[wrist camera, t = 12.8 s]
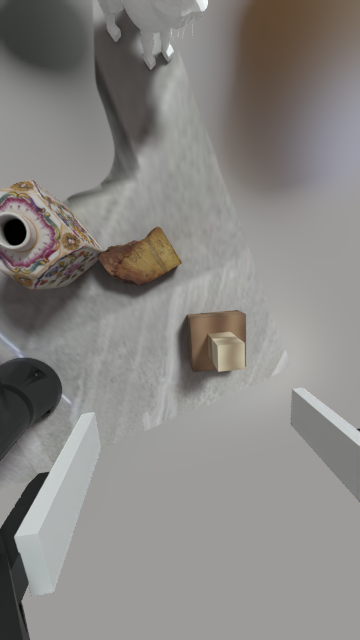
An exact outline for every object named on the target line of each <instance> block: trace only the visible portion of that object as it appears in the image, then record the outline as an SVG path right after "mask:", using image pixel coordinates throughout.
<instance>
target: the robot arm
mask: <svg viewBox="0 0 360 640" xmlns="http://www.w3.org/2000/svg"><path fill="white" fill-rule="evenodd" d="M61 395H62V386H61V382H60V379H59V377H58V375H57V374H56V373H55V371H54V370H53V369H52V368H51V367H49V366H48V365H47V364H45V363H43V362H41V361H39V360H36V359H32V358H16V359H12V360H10V361H7V362H6V363H4V364H2V365H0V461H1V459H2V458H3V457H4V456H5V455H6V453H7V452H8V451H9V450H10V449H11V447H12V446H13V445H14V444H15V443H16V441H17V440H18V439H19V438H20V436H21V435H22V434H23V433H24V432H25V430H26V429H27V428H28V427H30V426H32V425H33V424H35V423H37V422H39V421H40V420H42V419H44V418H45V417H47V416H48V415H49V414H50V413H51V412H52V411H53V410H54V408H55V407H56V406H57V405H58V403H59V401H60V399H61ZM291 404H292V405H291V425H292V426H293V427H294V429H295V430H296V431H297V432H298V433H299V434H300V436H301V437H302V438H303V439H304V440H305V441H306V442H307V443H308V445H309V446H310V447H311V448H312V449H313V450H314V451H315V452H316V453H317V455H318V456H319V457H320V458H321V459H322V460H323V461H324V463H325V464H326V465H327V466H328V467H329V468H330V469H331V470H332V471H333V473H334V474H335V475H336V476H337V477H338V478H339V479H340V481H341V482H342V483H343V484H344V485H345V486H346V487H347V489H348V490H349V491H350V492H351V493H352V494H353V495H354V496H355V498H356V499H357V500H358V501H359V502H360V429H355V428H354V427H353V426H351V425H350V424H349V423H348V422H346V421H345V420H344V419H342V418H341V417H340V416H339V415H337V414H336V413H335V412H333V411H332V410H331V409H329V408H328V407H327V406H326V405H324V404H323V403H322V402H320V401H319V400H318V399H317V398H315V397H314V396H313V395H312V394H310V393H309V392H308V391H306V390H305V389H304V388H295V389H292V403H291ZM100 451H101V447H100V441H99V435H98V429H97V423H96V417H95V412H92V413H84V414H82V415H81V417H80V419H79V420H78V422H77V424H76V426H75V428H74V429H73V431H72V433H71V435H70V437H69V439H68V440H67V442H66V444H65V446H64V448H63V449H62V451H61V453H60V455H59V457H58V458H57V460H56V462H55V464H54V466H53V468H52V469H51V471H50V472H45V473H39V474H38V475H37V476H36V477H35V478H34V479H33V480H32V481H31V482H30V483H29V484H28V485H27V487H26V488H25V490H24V492H23V493H22V495H21V498H19V500H18V501H17V503H16V504H15V507H14V508H13V509H12V511H11V512H10V514H9V516H8V517H7V519H6V520H5V522H4V524H3V525H2V527H1V529H0V640H30V638H29V633H28V629H27V624H26V619H25V614H24V610H23V605H22V602H21V600H22V598H23V596H24V593H25V591H26V588H27V586H29V589H30V593H31V596H35V595H40V594H46V593H51V592H54V590H55V586H56V584H57V580H58V578H59V575H60V571H61V568H62V565H63V562H64V559H65V556H66V553H67V550H68V547H69V544H70V541H71V538H72V535H73V532H74V529H75V526H76V523H77V520H78V517H79V514H80V511H81V508H82V505H83V502H84V499H85V496H86V493H87V490H88V487H89V484H90V481H91V478H92V475H93V472H94V469H95V466H96V463H97V460H98V457H99V454H100Z"/></svg>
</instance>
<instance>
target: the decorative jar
mask: <svg viewBox="0 0 360 640" xmlns="http://www.w3.org/2000/svg"><path fill="white" fill-rule="evenodd" d="M102 251H104V250H103V249H102V247H101V246H100V245H99V244H98V243H97V242H96V240H95V239H94V238H93V237H92V235H91V234H90V233H89V232H88V231H87V229H86V228H85V227H84V226H83V225H82V223H81V222H80V221H79V220H78V219H77V217H76V216H75V215H74V214H73V213H72V211H71V210H70V209H69V208H68V207H67V206H66V205H65V204H64V203H62V202H61V201H60V200H58V199H57V198H56V197H54V196H53V195H52V194H50V193H49V192H48V191H46V190H44V189H43V188H42V187H40V186H39V185H38V184H36V182H34V181H33V180H27V181H24V182H19V183H16V184H14V185H12V186H9V187H6V188H2V189H0V270H1V271H2V272H3V273H5V274H6V275H8V276H9V277H11V278H12V279H14V280H15V281H16V282H18V283H20V284H21V285H23V286H25V287H26V288H27V289H29V290H41V289H52V288H60V287H66V286H68V285H69V284H70V283H71V282H73V281H74V280H75V279H77V278H78V277H79V276H80V275H81V274H83V273H84V272H85V271H86V270H88V269H89V268H90V267H91V266H92V265H94V264H95V263H96V262H97V261H98V255H99V254H100V253H101V252H102Z"/></svg>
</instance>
